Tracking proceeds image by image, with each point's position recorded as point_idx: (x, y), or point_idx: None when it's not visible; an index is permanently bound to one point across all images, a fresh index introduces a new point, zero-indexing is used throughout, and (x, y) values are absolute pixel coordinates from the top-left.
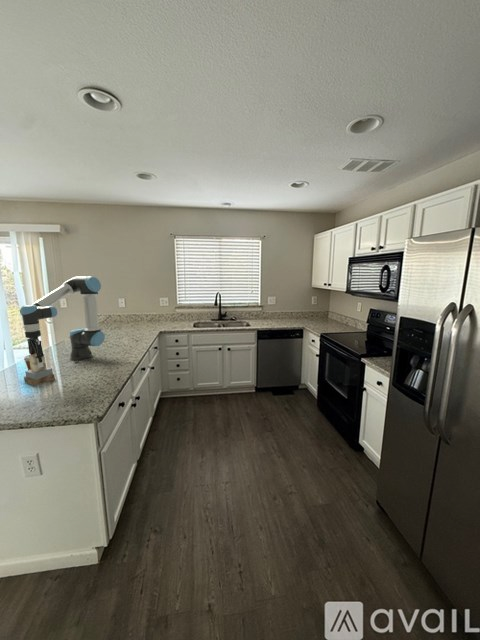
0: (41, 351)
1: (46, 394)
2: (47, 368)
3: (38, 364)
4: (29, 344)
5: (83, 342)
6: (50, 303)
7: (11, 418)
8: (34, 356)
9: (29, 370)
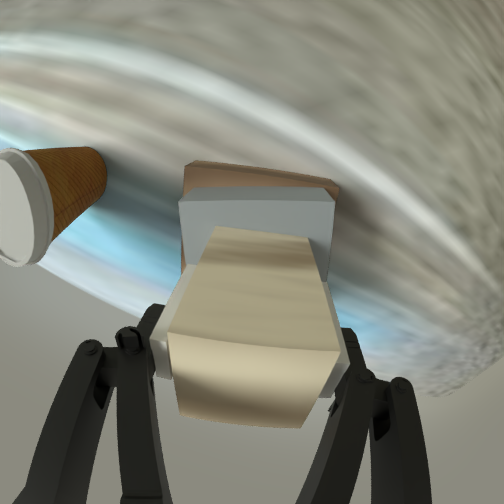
0: (413, 444)
1: (443, 307)
2: (297, 222)
3: None
4: (84, 491)
5: None
6: None
7: (442, 390)
8: (303, 419)
9: None
